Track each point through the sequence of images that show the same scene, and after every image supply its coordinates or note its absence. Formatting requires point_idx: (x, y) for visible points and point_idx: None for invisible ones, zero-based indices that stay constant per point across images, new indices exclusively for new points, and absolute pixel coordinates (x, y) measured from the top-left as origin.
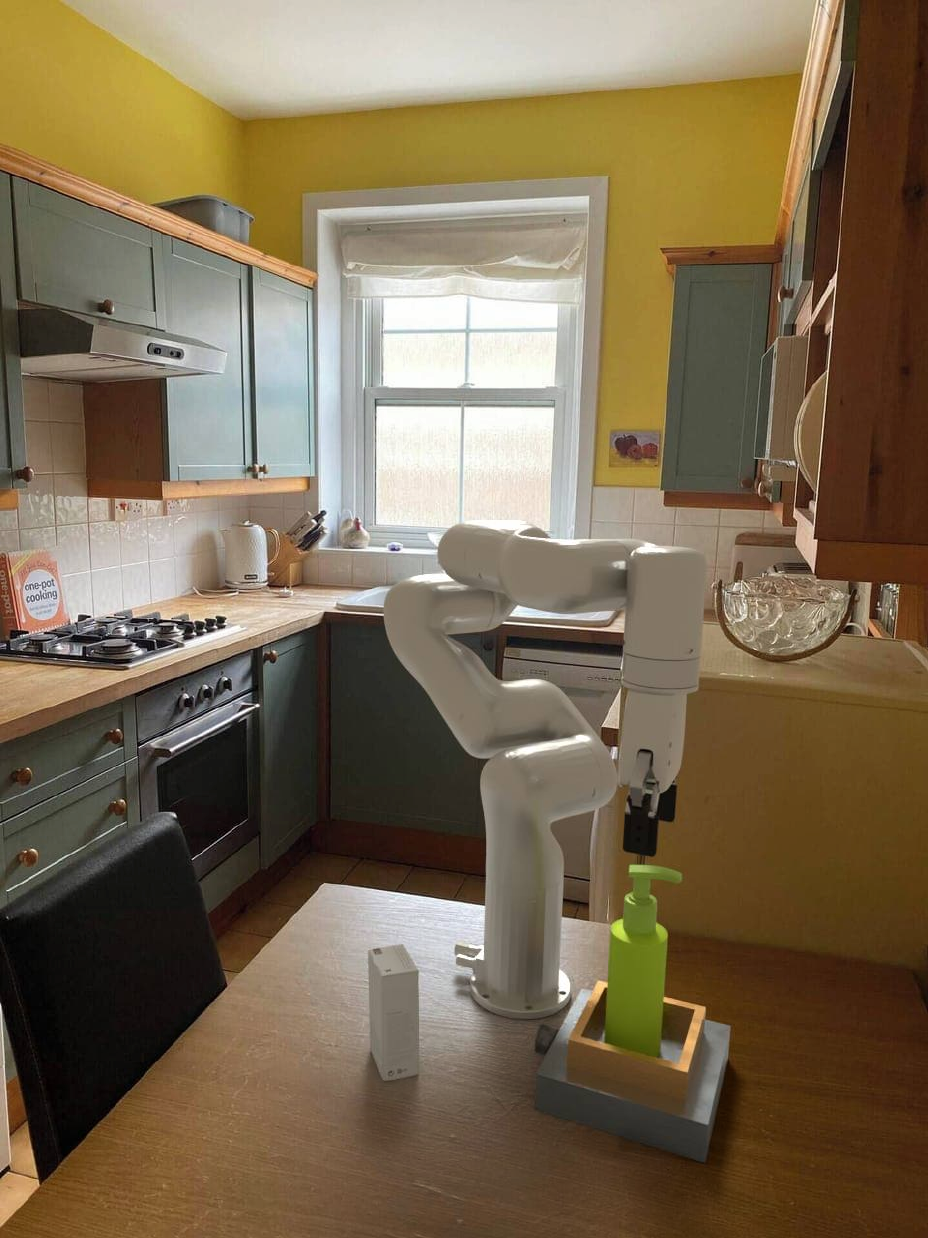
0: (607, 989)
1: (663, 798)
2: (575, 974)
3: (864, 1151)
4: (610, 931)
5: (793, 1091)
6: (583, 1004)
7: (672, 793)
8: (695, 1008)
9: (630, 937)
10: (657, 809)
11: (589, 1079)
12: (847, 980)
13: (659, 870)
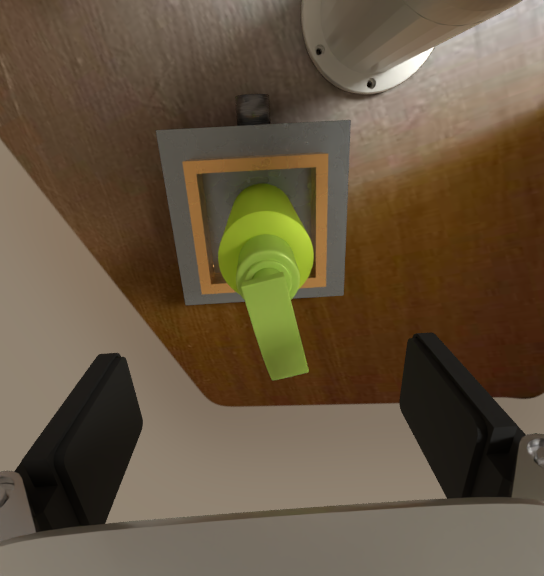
0: (247, 197)
1: (438, 440)
2: (438, 78)
3: (268, 379)
4: (246, 214)
5: (314, 333)
6: (314, 135)
7: (444, 488)
8: (318, 277)
9: (230, 255)
10: (418, 391)
11: (182, 190)
12: (506, 353)
13: (277, 345)
